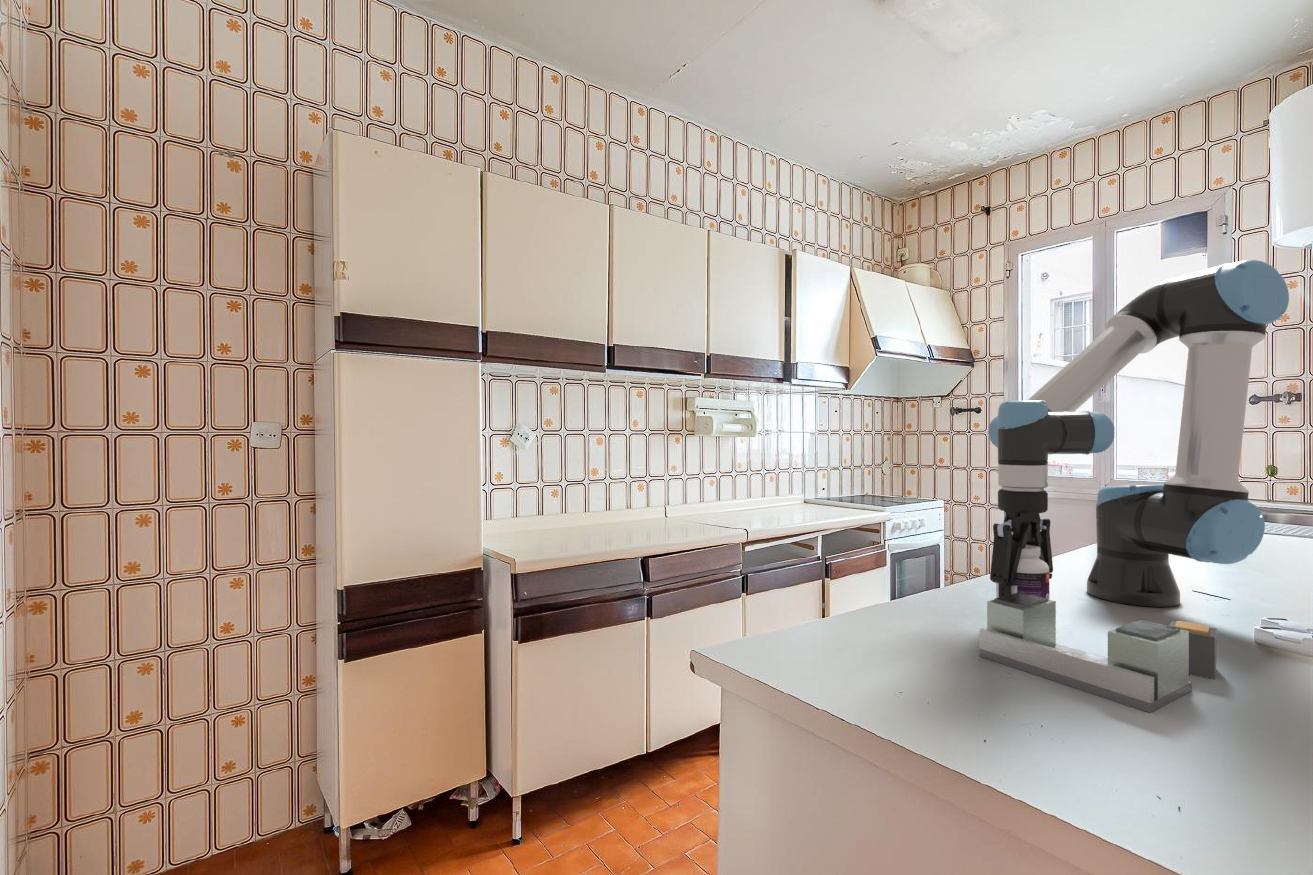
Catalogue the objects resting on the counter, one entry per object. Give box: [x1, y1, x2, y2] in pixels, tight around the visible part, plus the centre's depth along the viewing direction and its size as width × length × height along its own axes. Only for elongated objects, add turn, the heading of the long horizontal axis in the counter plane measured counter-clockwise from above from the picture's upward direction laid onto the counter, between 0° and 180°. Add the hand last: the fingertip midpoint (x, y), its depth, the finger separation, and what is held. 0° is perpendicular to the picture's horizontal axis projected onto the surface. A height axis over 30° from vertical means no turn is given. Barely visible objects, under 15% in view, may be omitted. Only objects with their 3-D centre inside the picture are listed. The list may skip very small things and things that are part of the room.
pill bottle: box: [995, 545, 1050, 600], centre depth 107 cm, size 8×8×14 cm
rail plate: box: [978, 592, 1193, 714], centre depth 88 cm, size 12×22×9 cm, turn 30°
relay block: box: [1169, 620, 1218, 680], centre depth 88 cm, size 5×5×6 cm
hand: (1022, 617), depth 107 cm, fingers closed on pill bottle, 8 cm apart
